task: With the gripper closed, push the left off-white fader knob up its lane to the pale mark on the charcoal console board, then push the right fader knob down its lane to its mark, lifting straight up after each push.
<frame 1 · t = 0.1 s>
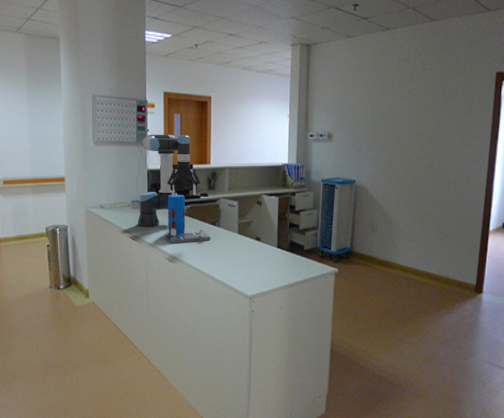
hand: (183, 195, 250), 28 cm above the table, fingers open, 13 cm apart
fader right: (201, 232, 253), point 4 cm above the table, slide at 16.0 cm
fader left: (173, 231, 254), point 4 cm above the table, slide at 0.0 cm
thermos: (176, 232, 271), on the table
console: (187, 239, 255), on the table
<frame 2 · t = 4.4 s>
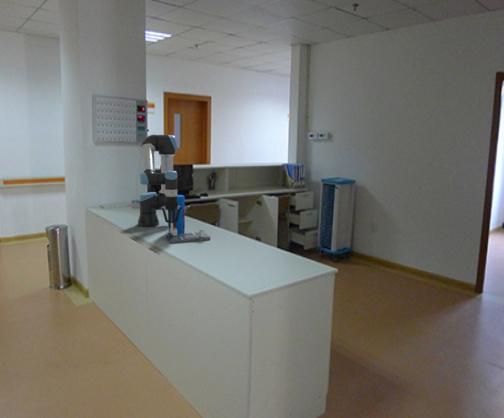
hand: (171, 232, 253), 4 cm above the table, fingers closed
fader left: (174, 231, 254), point 4 cm above the table, slide at 0.8 cm, touching gripper
everything else where it was.
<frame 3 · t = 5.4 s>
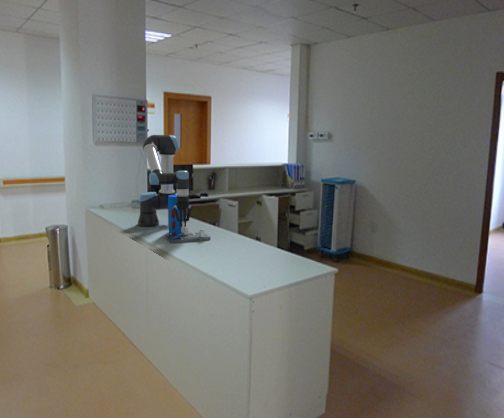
hand: (182, 231, 256), 4 cm above the table, fingers closed
fader left: (185, 230, 257), point 4 cm above the table, slide at 8.1 cm, touching gripper
everything else where it was.
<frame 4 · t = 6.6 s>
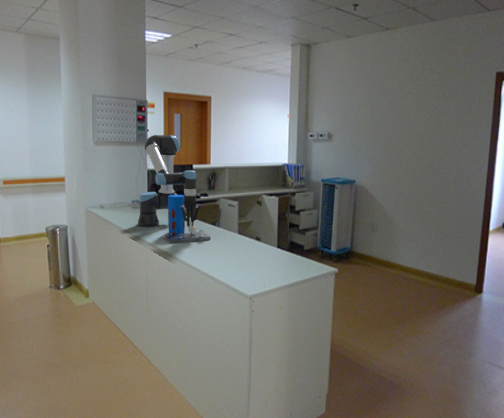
hand: (190, 231, 258), 4 cm above the table, fingers closed
fader left: (193, 230, 259), point 4 cm above the table, slide at 12.9 cm, touching gripper
everything else where it was.
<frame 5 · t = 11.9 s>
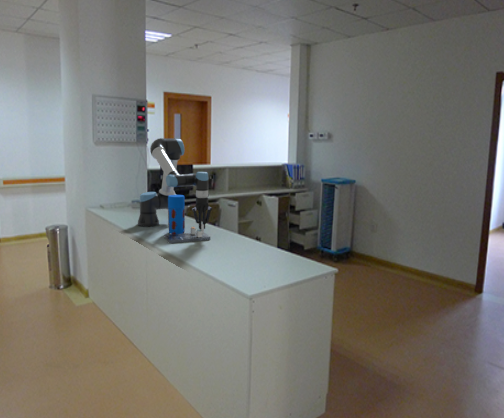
hand: (202, 233, 253), 4 cm above the table, fingers closed
fader right: (199, 233, 252), point 4 cm above the table, slide at 14.2 cm, touching gripper
fader left: (193, 230, 259), point 4 cm above the table, slide at 12.9 cm
everything else where it was.
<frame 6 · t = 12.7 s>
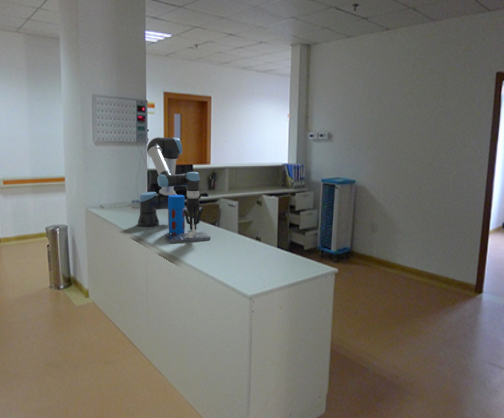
hand: (193, 234, 251), 4 cm above the table, fingers closed
fader right: (190, 233, 250), point 4 cm above the table, slide at 8.4 cm, touching gripper
everything else where it was.
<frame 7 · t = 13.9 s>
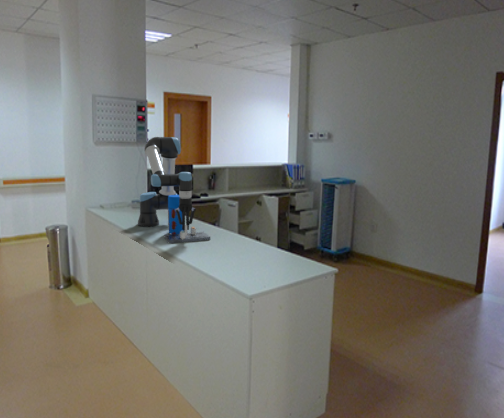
hand: (185, 235, 249), 4 cm above the table, fingers closed
fader right: (182, 234, 248), point 4 cm above the table, slide at 3.6 cm, touching gripper
everything else where it was.
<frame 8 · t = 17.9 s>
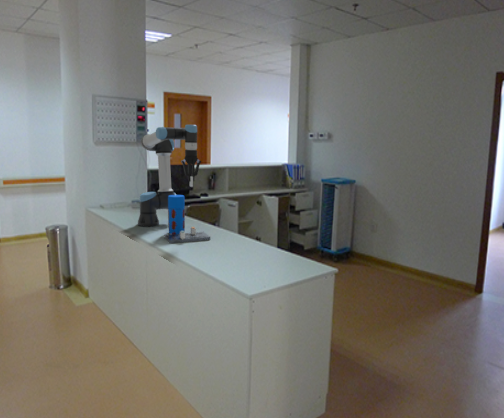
hand: (191, 186, 258), 32 cm above the table, fingers closed
fader right: (182, 234, 248), point 4 cm above the table, slide at 3.6 cm
everything else where it was.
at the end: fader left slide at 12.9 cm; fader right slide at 3.6 cm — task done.
